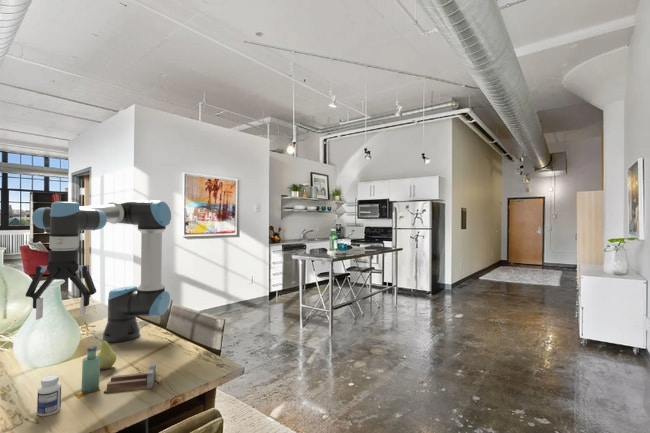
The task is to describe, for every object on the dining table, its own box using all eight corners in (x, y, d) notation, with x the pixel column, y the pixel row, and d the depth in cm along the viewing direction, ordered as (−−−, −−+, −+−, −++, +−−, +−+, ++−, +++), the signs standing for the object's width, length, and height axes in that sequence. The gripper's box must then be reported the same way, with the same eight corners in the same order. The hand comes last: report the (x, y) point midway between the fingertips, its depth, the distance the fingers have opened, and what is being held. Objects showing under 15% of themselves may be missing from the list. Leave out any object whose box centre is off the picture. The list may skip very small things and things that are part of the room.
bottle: (84, 386, 116) (85, 345, 116) (100, 384, 117) (102, 344, 117) (79, 393, 111) (80, 350, 111) (96, 391, 113) (98, 349, 113)
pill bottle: (45, 406, 103) (46, 373, 103) (64, 406, 104) (66, 373, 104) (32, 417, 98) (33, 382, 98) (52, 416, 98) (53, 382, 98)
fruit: (111, 372, 127) (112, 339, 127) (88, 372, 126) (89, 339, 126) (119, 364, 133) (120, 333, 133) (97, 365, 132) (98, 333, 132)
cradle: (111, 380, 120) (111, 366, 120) (155, 376, 125) (156, 362, 125) (103, 393, 112) (104, 377, 112) (151, 388, 116) (152, 373, 116)
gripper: (12, 250, 105) (9, 323, 104) (102, 250, 112) (99, 318, 112) (25, 248, 112) (22, 316, 111) (108, 248, 119) (106, 312, 119)
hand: (61, 317), depth 112 cm, fingers open, 11 cm apart
